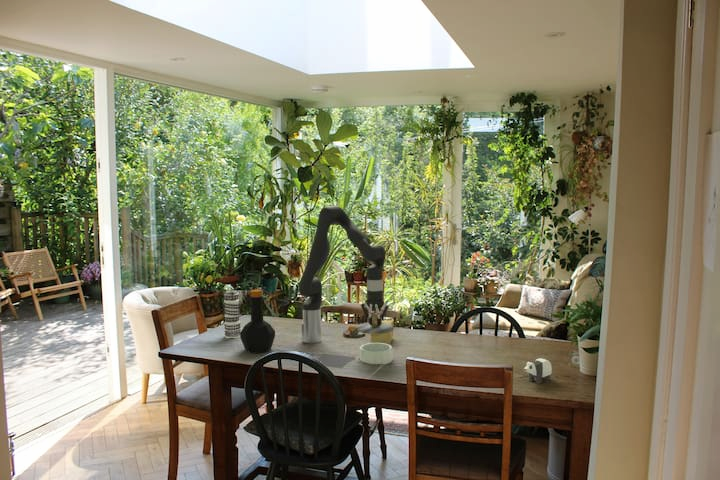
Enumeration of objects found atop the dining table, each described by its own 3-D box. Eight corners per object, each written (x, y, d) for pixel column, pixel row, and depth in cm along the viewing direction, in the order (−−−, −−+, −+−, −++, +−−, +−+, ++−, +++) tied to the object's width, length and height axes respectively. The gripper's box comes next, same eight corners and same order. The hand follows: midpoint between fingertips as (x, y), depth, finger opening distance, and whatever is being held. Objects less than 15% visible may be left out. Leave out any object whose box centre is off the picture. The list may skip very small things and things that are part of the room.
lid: (351, 332, 258) (350, 316, 257) (364, 322, 273) (364, 308, 273) (386, 335, 251) (386, 319, 251) (398, 325, 267) (398, 311, 266)
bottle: (258, 343, 294) (256, 286, 291) (281, 348, 285) (279, 289, 282) (234, 351, 281) (232, 291, 278) (258, 356, 272) (256, 294, 269)
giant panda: (541, 375, 240) (542, 353, 238) (553, 379, 235) (553, 357, 234) (519, 383, 231) (519, 360, 230) (530, 387, 227) (530, 364, 226)
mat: (309, 365, 258) (309, 363, 258) (324, 354, 273) (324, 353, 273) (341, 369, 252) (341, 367, 252) (355, 358, 267) (355, 357, 267)
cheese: (390, 344, 289) (390, 325, 287) (369, 343, 291) (369, 324, 290) (393, 338, 299) (393, 320, 298) (373, 337, 301) (373, 319, 300)
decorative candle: (222, 335, 310) (220, 290, 307) (239, 333, 314) (237, 288, 311) (226, 339, 302) (224, 293, 299) (243, 337, 305) (241, 291, 303)
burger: (367, 337, 303) (367, 323, 302) (346, 339, 300) (346, 325, 299) (361, 331, 314) (361, 318, 314) (340, 333, 311) (340, 320, 310)
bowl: (355, 363, 260) (355, 350, 259) (367, 353, 273) (366, 341, 273) (385, 366, 255) (385, 353, 254) (396, 356, 268) (395, 344, 267)
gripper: (357, 289, 260) (358, 326, 262) (386, 291, 254) (387, 329, 256) (363, 286, 267) (364, 322, 268) (392, 288, 261) (392, 325, 263)
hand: (375, 325), depth 262 cm, fingers closed on lid, 3 cm apart
